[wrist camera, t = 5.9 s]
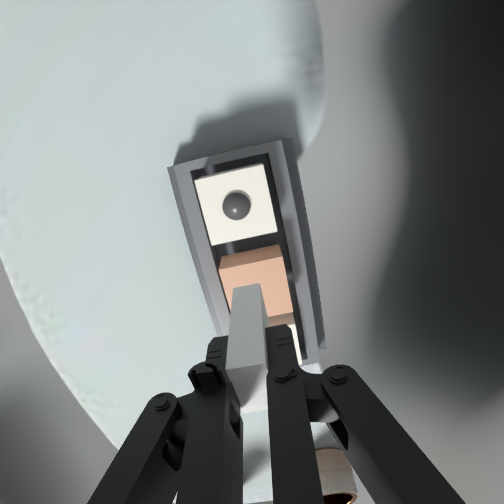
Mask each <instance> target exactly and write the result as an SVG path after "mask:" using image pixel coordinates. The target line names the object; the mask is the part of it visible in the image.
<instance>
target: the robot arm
mask: <svg viewBox="0 0 504 504" xmlns="http://www.w3.org/2000/svg"><path fill="white" fill-rule="evenodd" d="M188 376H189V378H190V380H191V382H192V384H193V386H194V388H195V390H194V391H193V392H192V393H190V394H188V395H185V396H182V397H179V398H176V396H174V395H173V394H171V393H160V394H157V395H156V396H154V397H152V398H151V400H150V401H149V402H148V404H147V405H146V407H145V408H144V410H143V412H142V413H141V415H140V417H139V418H138V420H137V422H136V423H135V425H134V427H133V428H132V430H131V431H130V433H129V435H128V436H127V438H126V440H125V441H124V443H123V445H122V446H121V448H120V450H119V451H118V453H117V455H116V457H115V458H114V460H113V461H112V463H111V465H110V466H109V468H108V470H107V471H106V473H105V475H104V476H103V478H102V480H101V481H100V483H99V485H98V486H97V488H96V490H95V491H94V493H93V495H92V496H91V498H90V500H89V501H88V503H87V504H172V502H173V500H174V498H175V495H176V493H177V499H176V504H243V421H242V418H241V416H240V407H241V409H242V412H243V413H248V412H256V411H262V410H268V420H269V436H270V453H271V469H272V487H273V504H324V499H323V493H322V487H321V481H320V476H319V470H318V464H317V458H316V453H315V447H314V442H313V436H312V431H311V425H310V422H326V424H327V426H328V428H329V429H330V431H331V433H332V434H333V436H334V438H335V439H336V441H337V443H338V444H339V446H340V447H341V449H342V451H343V452H344V454H345V456H346V457H347V459H348V461H349V462H350V464H351V465H352V467H353V469H354V470H355V471H356V473H357V475H358V477H359V478H360V480H361V482H362V483H363V485H364V486H365V488H366V489H367V491H368V493H369V494H370V496H371V497H372V499H373V500H374V502H375V504H466V503H465V502H464V501H463V500H462V499H461V498H460V496H459V495H458V494H457V493H456V491H455V490H454V489H453V488H452V487H451V485H450V484H449V483H448V482H447V480H446V479H445V478H444V477H443V476H442V474H441V473H440V472H439V471H438V470H437V468H436V467H435V466H434V465H433V464H432V462H431V461H430V460H429V459H428V458H427V457H426V455H425V454H424V453H423V452H422V451H421V449H420V448H419V447H418V446H417V444H416V443H415V442H414V441H413V440H412V438H411V437H410V436H409V435H408V434H407V432H406V431H405V430H404V429H403V428H402V426H401V425H400V424H399V423H398V422H397V420H396V419H395V418H394V417H393V416H392V414H391V413H390V412H389V411H388V410H387V408H386V407H385V406H384V405H383V404H382V402H381V401H380V400H379V399H378V398H377V396H376V395H375V394H374V393H373V392H372V391H371V390H370V388H369V387H368V386H367V385H366V383H365V382H364V381H363V380H362V378H360V376H359V375H358V374H357V372H356V371H355V370H354V369H353V368H351V367H350V366H347V365H335V366H331V367H329V368H327V369H326V370H325V371H324V372H323V373H322V374H311V373H308V372H305V371H304V370H302V369H301V368H300V366H299V364H298V359H297V354H296V349H295V344H294V339H293V334H292V330H291V328H290V327H289V326H288V325H287V324H282V325H277V326H272V327H270V325H269V320H268V315H267V311H266V307H265V303H264V299H263V295H262V291H261V286H260V283H256V284H251V285H246V286H241V287H236V288H233V293H232V303H231V314H230V325H229V335H227V336H221V337H215V338H213V339H212V340H211V342H210V343H209V345H208V349H207V355H206V361H205V362H201V363H199V364H197V365H195V366H193V367H192V368H191V369H190V371H189V373H188ZM177 491H178V492H177Z"/></svg>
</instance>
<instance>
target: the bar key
mask: <svg viewBox="0 0 504 504" xmlns="http://www.w3.org/2000/svg"><path fill="white" fill-rule="evenodd" d="M268 320H269V325H270V327H272V326H277V325H282V324H287V325H288V326H289V327H290V328H291V330H292V334H293V339H294V344H295V349H296V354H297V359H298V364H299V365H302V360H301V354H300V348H299V343H298V337H297V332H296V326H295V321H294V317H293V313H292V312H290V313H286V314H281V315H276V316H271V317H268Z"/></svg>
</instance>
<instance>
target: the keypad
mask: <svg viewBox="0 0 504 504" xmlns="http://www.w3.org/2000/svg"><path fill="white" fill-rule="evenodd" d="M258 163H262V164H263V166H264V171H265V175H266V180H267V184H268V189H269V193H270V198H271V203H272V208H273V212H274V217H275V222H276V227H277V232H273V233H268V234H263V235H259V236H254V237H249V238H245V239H240V240H236V241H231V242H226V243H222V244H217V245H213V246H212V245H211V241H210V238H209V234H208V230H207V227H206V223H205V219H204V216H203V212H202V208H201V204H200V200H199V197H198V193H197V189H196V185H195V180H197V179H198V178H200V177H202V176H206V175H210V174H214V173H218V172H223V171H227V170H231V169H235V168H240V167H244V166H249V165H253V164H258ZM167 169H168V173H169V176H170V180H171V184H172V188H173V192H174V195H175V199H176V203H177V206H178V210H179V214H180V217H181V221H182V224H183V228H184V231H185V235H186V238H187V241H188V245H189V248H190V252H191V255H192V258H193V261H194V265H195V268H196V271H197V274H198V278H199V281H200V284H201V287H202V290H203V293H204V296H205V299H206V303H207V306H208V309H209V312H210V315H211V318H212V321H213V324H214V327H215V329H216V332H217V335H218V337H221V336H227V335H229V325H230V314H231V311H230V308H229V304H228V301H227V298H226V294H225V291H224V287H223V284H222V280H221V277H220V273H219V266H220V262H221V257H222V256H225V255H230V254H235V253H240V252H244V251H249V250H254V249H258V248H263V247H268V246H272V245H277V244H279V246H280V249H281V253H282V256H283V261H284V266H285V271H286V276H287V281H288V287H289V292H290V297H291V302H292V308H293V312H292V313H293V317H294V321H295V326H296V332H297V337H298V343H299V348H300V354H301V360H302V365H299V366H304V365H309V364H313V363H318V362H320V360H319V352H318V350H321V349H325V348H326V344H325V334H324V326H323V318H322V310H321V302H320V295H319V288H318V281H317V274H316V267H315V261H314V255H313V248H312V242H311V236H310V230H309V224H308V219H307V213H306V208H305V202H304V197H303V191H302V187H301V181H300V177H299V171H298V166H297V161H296V156H295V152H294V147H293V142H292V138H289V139H284V140H278V141H273V142H268V143H263V144H258V145H253V146H249V147H244V148H240V149H235V150H231V151H227V152H223V153H219V154H215V155H211V156H207V157H203V158H199V159H195V160H192V161H188V162H184V163H181V164H177V165H174V166H171V167H167Z"/></svg>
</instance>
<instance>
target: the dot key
mask: <svg viewBox="0 0 504 504" xmlns="http://www.w3.org/2000/svg"><path fill="white" fill-rule="evenodd" d="M195 185H196V189H197V193H198V197H199V200H200V204H201V208H202V212H203V216H204V219H205V223H206V227H207V230H208V234H209V238H210V241H211V245H212V246H213V245H217V244H222V243H226V242H231V241H236V240H240V239H245V238H249V237H254V236H259V235H263V234H268V233H273V232H277V227H276V222H275V217H274V212H273V208H272V203H271V198H270V193H269V189H268V184H267V180H266V175H265V171H264V166H263V164H262V163H258V164H253V165H249V166H244V167H240V168H235V169H231V170H227V171H223V172H218V173H214V174H210V175H206V176H202V177H200V178H198V179H197V180H195Z"/></svg>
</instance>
